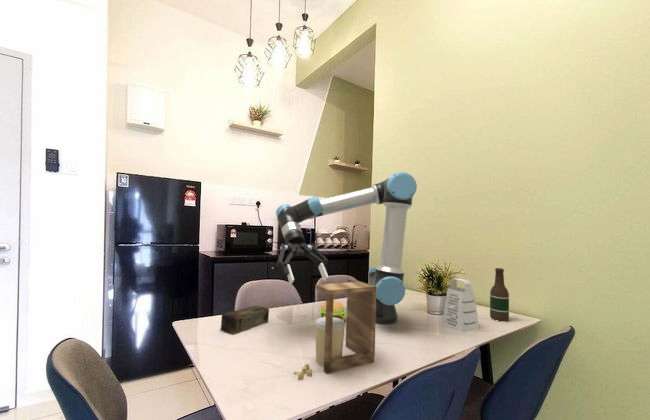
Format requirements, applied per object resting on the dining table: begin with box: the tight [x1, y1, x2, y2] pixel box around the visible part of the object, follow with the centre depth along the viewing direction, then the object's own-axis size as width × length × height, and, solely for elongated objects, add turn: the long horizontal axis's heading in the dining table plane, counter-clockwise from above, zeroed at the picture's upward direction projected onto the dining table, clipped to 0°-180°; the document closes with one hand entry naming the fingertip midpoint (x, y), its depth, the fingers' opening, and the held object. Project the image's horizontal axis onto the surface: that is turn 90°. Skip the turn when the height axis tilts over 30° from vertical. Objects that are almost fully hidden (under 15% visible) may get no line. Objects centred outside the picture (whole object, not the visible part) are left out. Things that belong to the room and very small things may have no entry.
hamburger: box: [318, 300, 347, 321], centre depth 131 cm, size 12×12×9 cm
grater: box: [441, 278, 480, 332], centre depth 130 cm, size 10×10×20 cm
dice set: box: [293, 363, 313, 381], centre depth 83 cm, size 5×5×2 cm
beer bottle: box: [489, 267, 510, 322], centre depth 143 cm, size 8×8×24 cm
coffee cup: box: [314, 317, 346, 367], centre depth 92 cm, size 9×9×12 cm
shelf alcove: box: [315, 278, 377, 374], centre depth 95 cm, size 17×14×23 cm
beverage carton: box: [220, 304, 270, 335], centre depth 121 cm, size 8×19×7 cm, turn 147°
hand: (309, 280), depth 106 cm, fingers open, 13 cm apart
